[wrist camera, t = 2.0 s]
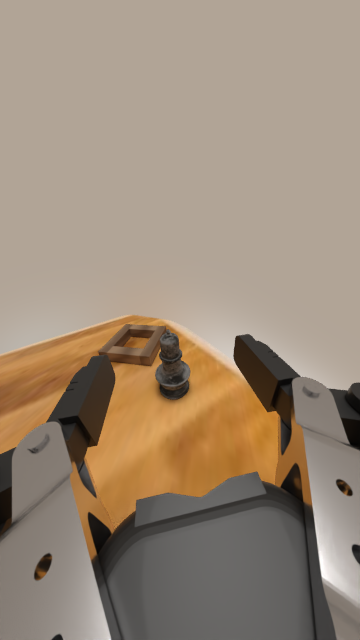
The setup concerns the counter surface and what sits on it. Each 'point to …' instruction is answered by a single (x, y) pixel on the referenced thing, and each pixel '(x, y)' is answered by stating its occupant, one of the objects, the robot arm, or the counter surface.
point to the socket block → (134, 354)
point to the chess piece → (172, 368)
